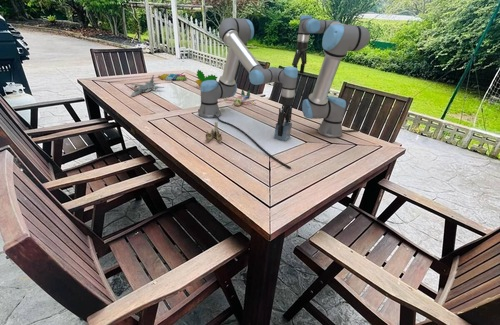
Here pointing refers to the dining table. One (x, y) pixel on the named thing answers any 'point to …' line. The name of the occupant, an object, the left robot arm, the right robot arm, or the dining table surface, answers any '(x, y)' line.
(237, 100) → the toy
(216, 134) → the jawbone
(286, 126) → the block
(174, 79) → the sign
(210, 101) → the left robot arm
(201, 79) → the ornament
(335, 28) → the right robot arm
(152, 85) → the airplane
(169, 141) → the dining table surface
